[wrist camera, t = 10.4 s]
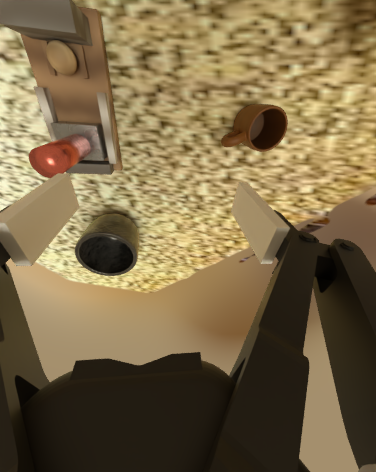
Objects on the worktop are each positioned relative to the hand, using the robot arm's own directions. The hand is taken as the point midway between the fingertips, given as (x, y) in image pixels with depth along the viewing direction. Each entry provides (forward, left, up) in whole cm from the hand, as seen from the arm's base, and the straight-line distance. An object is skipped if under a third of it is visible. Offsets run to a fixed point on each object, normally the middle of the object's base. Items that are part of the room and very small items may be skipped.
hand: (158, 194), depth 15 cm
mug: (-13, +12, -32) cm, 36 cm away
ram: (+11, -11, -29) cm, 33 cm away
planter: (+27, +5, -32) cm, 42 cm away
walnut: (+2, -19, -30) cm, 35 cm away
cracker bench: (+6, -15, -32) cm, 36 cm away
